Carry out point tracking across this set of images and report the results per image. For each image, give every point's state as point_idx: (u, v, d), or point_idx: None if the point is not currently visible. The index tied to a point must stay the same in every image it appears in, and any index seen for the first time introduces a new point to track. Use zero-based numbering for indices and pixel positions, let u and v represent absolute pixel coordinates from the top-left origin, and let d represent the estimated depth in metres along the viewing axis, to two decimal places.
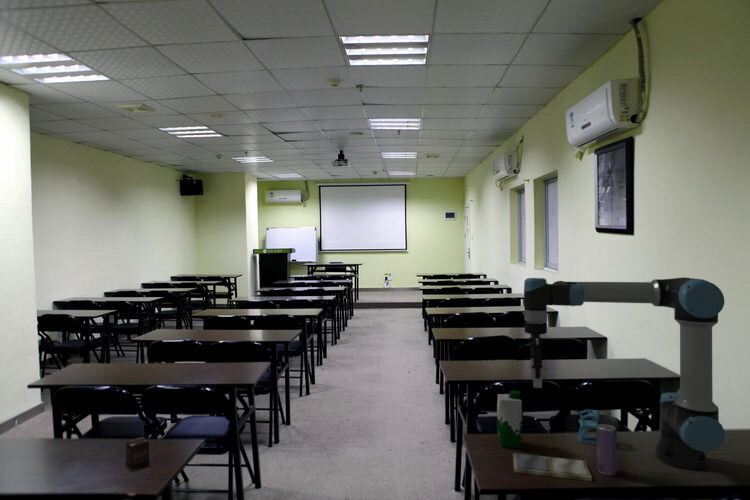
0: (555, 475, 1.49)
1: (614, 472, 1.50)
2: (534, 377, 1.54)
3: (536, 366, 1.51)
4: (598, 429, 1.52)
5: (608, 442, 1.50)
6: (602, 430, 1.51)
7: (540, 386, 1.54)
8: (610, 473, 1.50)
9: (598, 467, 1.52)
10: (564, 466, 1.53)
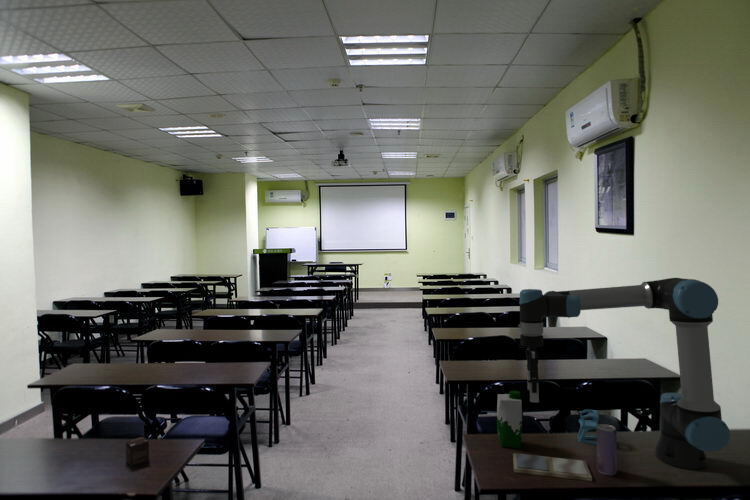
0: (555, 475, 1.49)
1: (614, 472, 1.50)
2: (531, 391, 1.50)
3: (532, 380, 1.48)
4: (598, 429, 1.52)
5: (608, 442, 1.50)
6: (602, 430, 1.51)
7: (537, 401, 1.50)
8: (610, 473, 1.50)
9: (598, 467, 1.52)
10: (564, 466, 1.53)
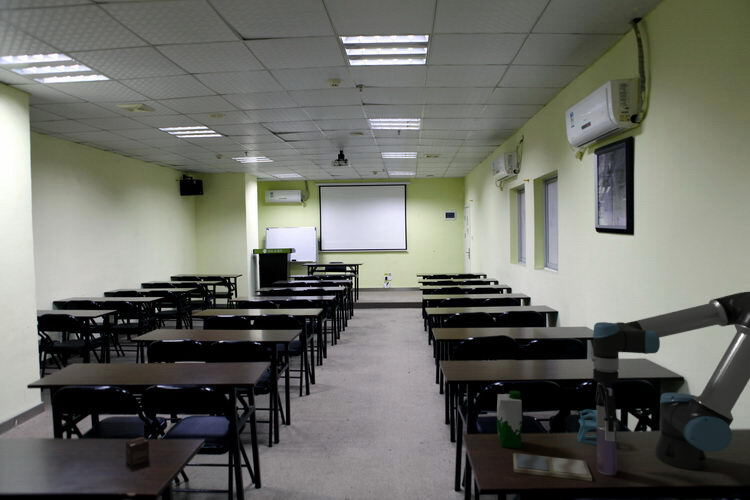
0: (555, 475, 1.49)
1: (614, 472, 1.50)
2: (606, 430, 1.46)
3: (610, 419, 1.43)
4: (598, 429, 1.52)
5: (608, 442, 1.50)
6: (602, 430, 1.51)
7: (613, 439, 1.45)
8: (610, 473, 1.50)
9: (598, 467, 1.52)
10: (564, 466, 1.53)
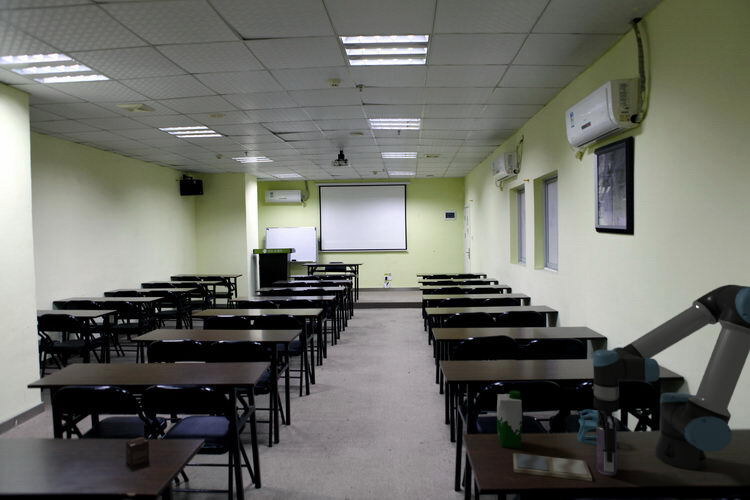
0: (555, 475, 1.49)
1: (614, 472, 1.50)
2: (605, 460, 1.49)
3: (609, 451, 1.46)
4: (598, 429, 1.52)
5: None
6: (602, 430, 1.51)
7: (612, 470, 1.49)
8: (610, 473, 1.49)
9: (598, 467, 1.52)
10: (564, 466, 1.53)
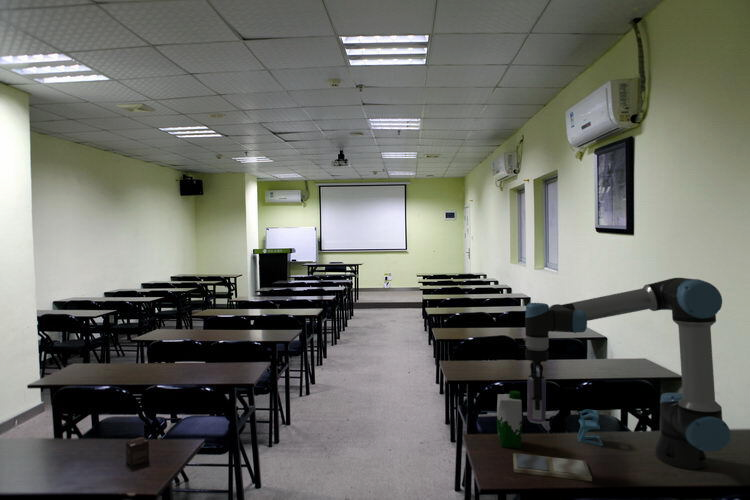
0: (555, 475, 1.49)
1: (542, 420, 1.54)
2: (534, 408, 1.53)
3: (536, 399, 1.50)
4: (528, 379, 1.56)
5: None
6: (531, 379, 1.55)
7: (540, 418, 1.53)
8: (538, 421, 1.54)
9: (527, 416, 1.56)
10: (564, 466, 1.53)
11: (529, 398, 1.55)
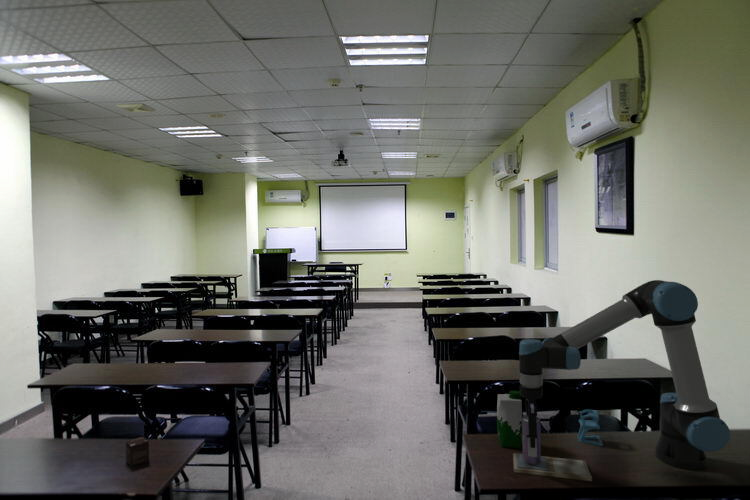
0: (555, 475, 1.49)
1: (537, 462, 1.54)
2: (529, 446, 1.52)
3: (531, 436, 1.49)
4: (523, 420, 1.56)
5: None
6: (526, 421, 1.55)
7: (535, 455, 1.51)
8: (533, 463, 1.54)
9: (523, 457, 1.57)
10: (564, 466, 1.53)
11: (524, 440, 1.56)
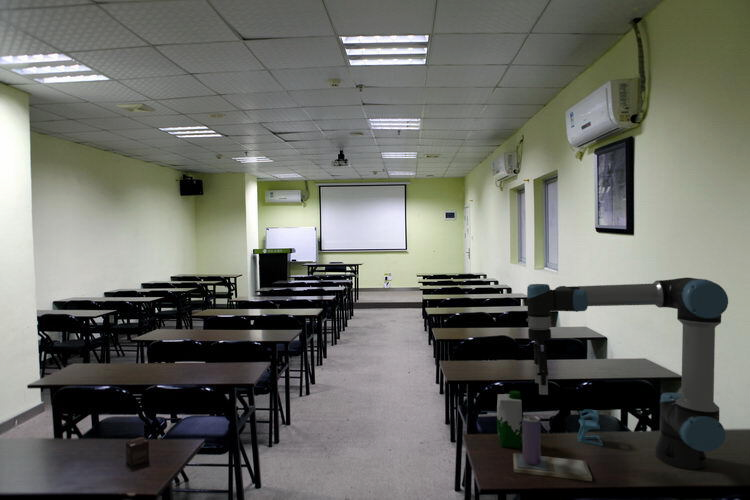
0: (555, 475, 1.49)
1: (537, 462, 1.54)
2: (540, 384, 1.53)
3: (542, 373, 1.50)
4: (523, 420, 1.57)
5: (532, 433, 1.54)
6: (526, 421, 1.55)
7: (546, 393, 1.53)
8: (533, 463, 1.54)
9: (523, 457, 1.57)
10: (564, 466, 1.53)
11: (524, 439, 1.56)
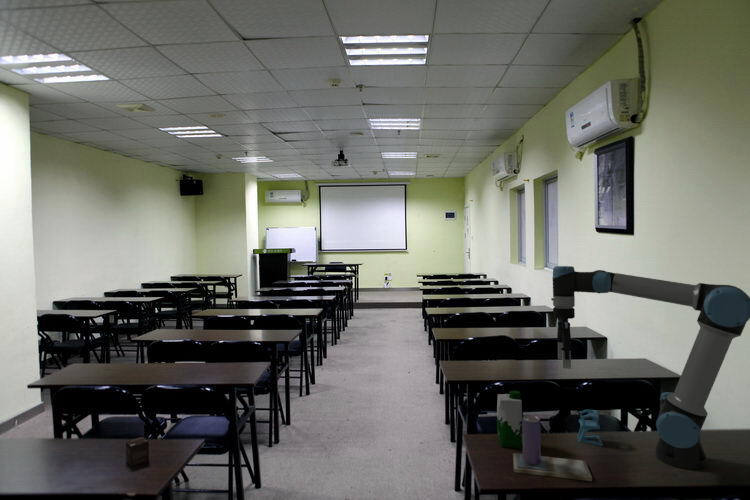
0: (555, 475, 1.49)
1: (537, 462, 1.54)
2: (563, 358, 1.64)
3: (566, 348, 1.61)
4: (523, 420, 1.57)
5: (532, 433, 1.54)
6: (526, 421, 1.55)
7: (569, 367, 1.64)
8: (533, 463, 1.54)
9: (523, 457, 1.57)
10: (564, 466, 1.53)
11: (524, 439, 1.56)
